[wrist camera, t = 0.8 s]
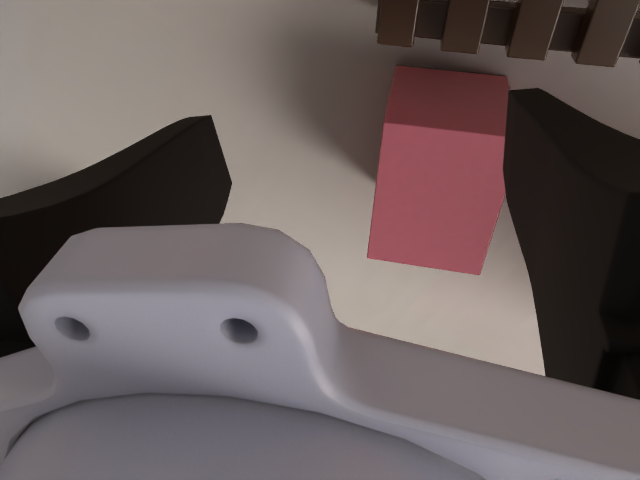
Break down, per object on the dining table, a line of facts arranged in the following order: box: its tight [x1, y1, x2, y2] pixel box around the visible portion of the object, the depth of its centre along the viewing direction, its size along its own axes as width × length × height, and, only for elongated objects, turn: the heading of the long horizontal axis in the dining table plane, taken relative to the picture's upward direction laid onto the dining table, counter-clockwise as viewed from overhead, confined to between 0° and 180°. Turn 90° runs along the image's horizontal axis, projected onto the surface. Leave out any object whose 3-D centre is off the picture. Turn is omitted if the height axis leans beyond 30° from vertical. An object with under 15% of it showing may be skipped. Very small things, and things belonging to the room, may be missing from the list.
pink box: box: [367, 65, 510, 275], centre depth 21 cm, size 6×4×6 cm
